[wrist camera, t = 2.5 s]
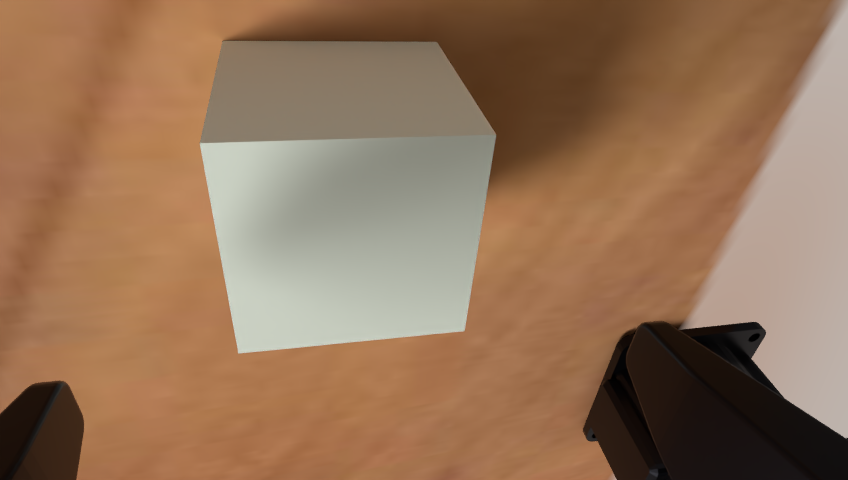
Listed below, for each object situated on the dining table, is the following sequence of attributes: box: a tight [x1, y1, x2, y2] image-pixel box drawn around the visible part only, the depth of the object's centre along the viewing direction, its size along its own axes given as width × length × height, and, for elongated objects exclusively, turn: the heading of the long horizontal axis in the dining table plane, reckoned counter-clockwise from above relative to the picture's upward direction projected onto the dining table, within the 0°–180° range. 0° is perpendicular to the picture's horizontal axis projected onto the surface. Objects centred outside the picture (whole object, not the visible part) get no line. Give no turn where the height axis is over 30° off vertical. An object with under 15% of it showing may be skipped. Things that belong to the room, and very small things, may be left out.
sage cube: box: [200, 41, 496, 353], centre depth 13 cm, size 5×5×5 cm
